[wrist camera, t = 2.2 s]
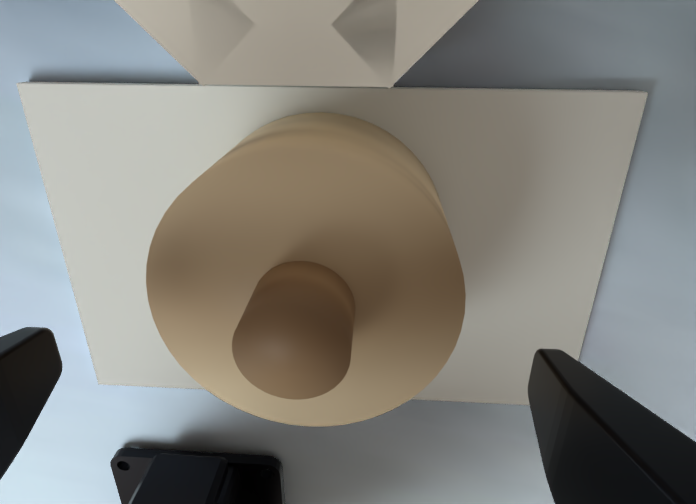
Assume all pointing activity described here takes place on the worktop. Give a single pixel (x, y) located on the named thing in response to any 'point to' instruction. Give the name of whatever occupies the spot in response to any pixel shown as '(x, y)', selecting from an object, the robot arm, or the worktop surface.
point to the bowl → (297, 38)
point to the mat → (414, 132)
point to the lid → (309, 274)
